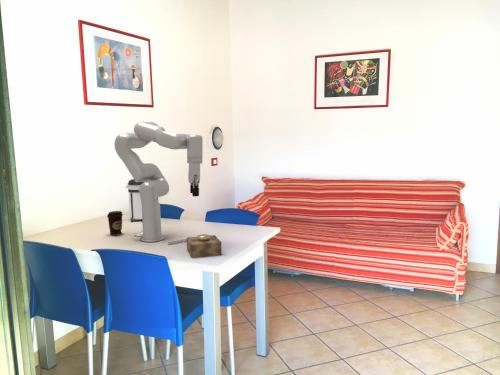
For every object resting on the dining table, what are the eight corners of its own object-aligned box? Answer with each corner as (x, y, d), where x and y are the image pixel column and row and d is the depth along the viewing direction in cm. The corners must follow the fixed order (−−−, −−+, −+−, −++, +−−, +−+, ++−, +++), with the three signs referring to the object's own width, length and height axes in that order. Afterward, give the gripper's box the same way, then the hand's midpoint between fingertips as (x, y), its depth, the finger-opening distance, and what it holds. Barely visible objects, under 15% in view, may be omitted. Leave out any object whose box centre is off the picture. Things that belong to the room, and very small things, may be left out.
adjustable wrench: (169, 246, 206) (169, 243, 206) (164, 243, 212) (164, 240, 211) (212, 238, 220) (212, 235, 220) (207, 236, 225) (207, 233, 225)
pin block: (191, 257, 185) (190, 244, 184) (187, 249, 198) (186, 237, 197) (221, 254, 189) (221, 242, 188) (215, 247, 202) (215, 235, 201)
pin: (198, 253, 190) (198, 237, 189) (197, 250, 195) (196, 234, 194) (210, 252, 191) (210, 236, 190) (208, 249, 197) (208, 233, 196)
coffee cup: (127, 233, 232) (126, 211, 231) (116, 236, 225) (115, 213, 223) (115, 232, 236) (114, 210, 234) (105, 235, 229) (103, 212, 227)
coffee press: (139, 223, 259) (137, 176, 255) (122, 220, 268) (120, 175, 264) (159, 218, 273) (157, 174, 270) (143, 216, 282) (141, 173, 278)
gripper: (185, 158, 207) (185, 191, 210) (188, 161, 191) (188, 197, 193) (200, 158, 209) (199, 191, 212) (204, 161, 193) (204, 197, 195)
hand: (194, 194), depth 203 cm, fingers open, 9 cm apart
